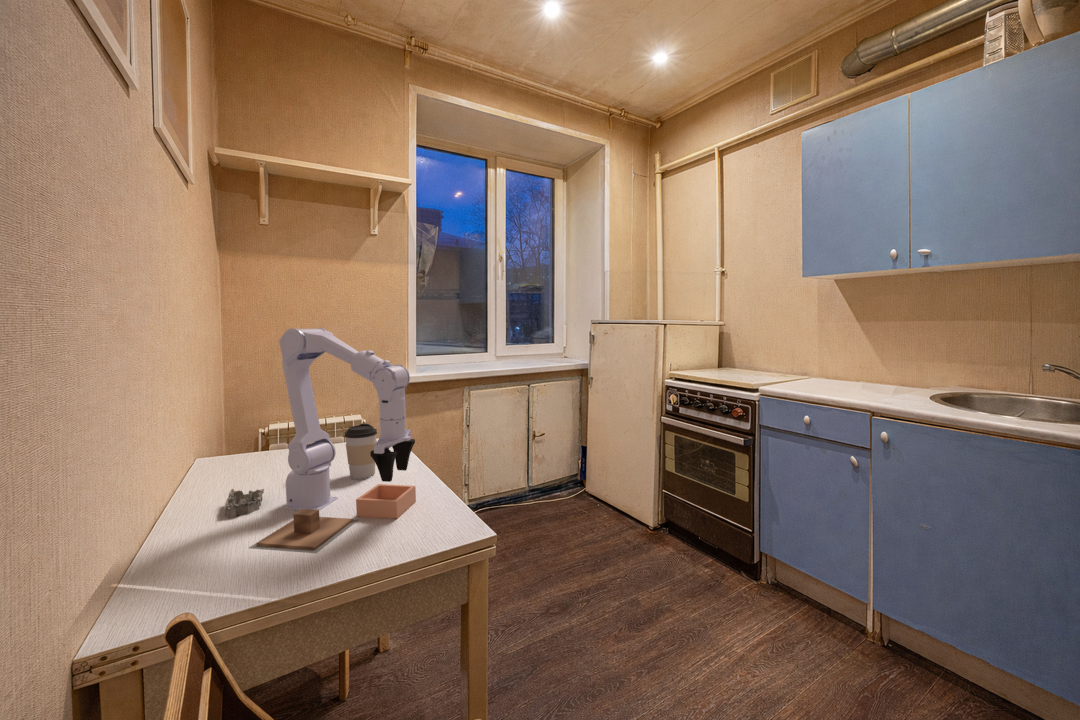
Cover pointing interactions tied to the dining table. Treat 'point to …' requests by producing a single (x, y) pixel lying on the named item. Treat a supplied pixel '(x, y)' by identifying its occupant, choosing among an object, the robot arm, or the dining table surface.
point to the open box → (386, 501)
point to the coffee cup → (360, 450)
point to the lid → (305, 531)
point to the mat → (305, 549)
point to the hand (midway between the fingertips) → (394, 475)
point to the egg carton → (243, 502)
